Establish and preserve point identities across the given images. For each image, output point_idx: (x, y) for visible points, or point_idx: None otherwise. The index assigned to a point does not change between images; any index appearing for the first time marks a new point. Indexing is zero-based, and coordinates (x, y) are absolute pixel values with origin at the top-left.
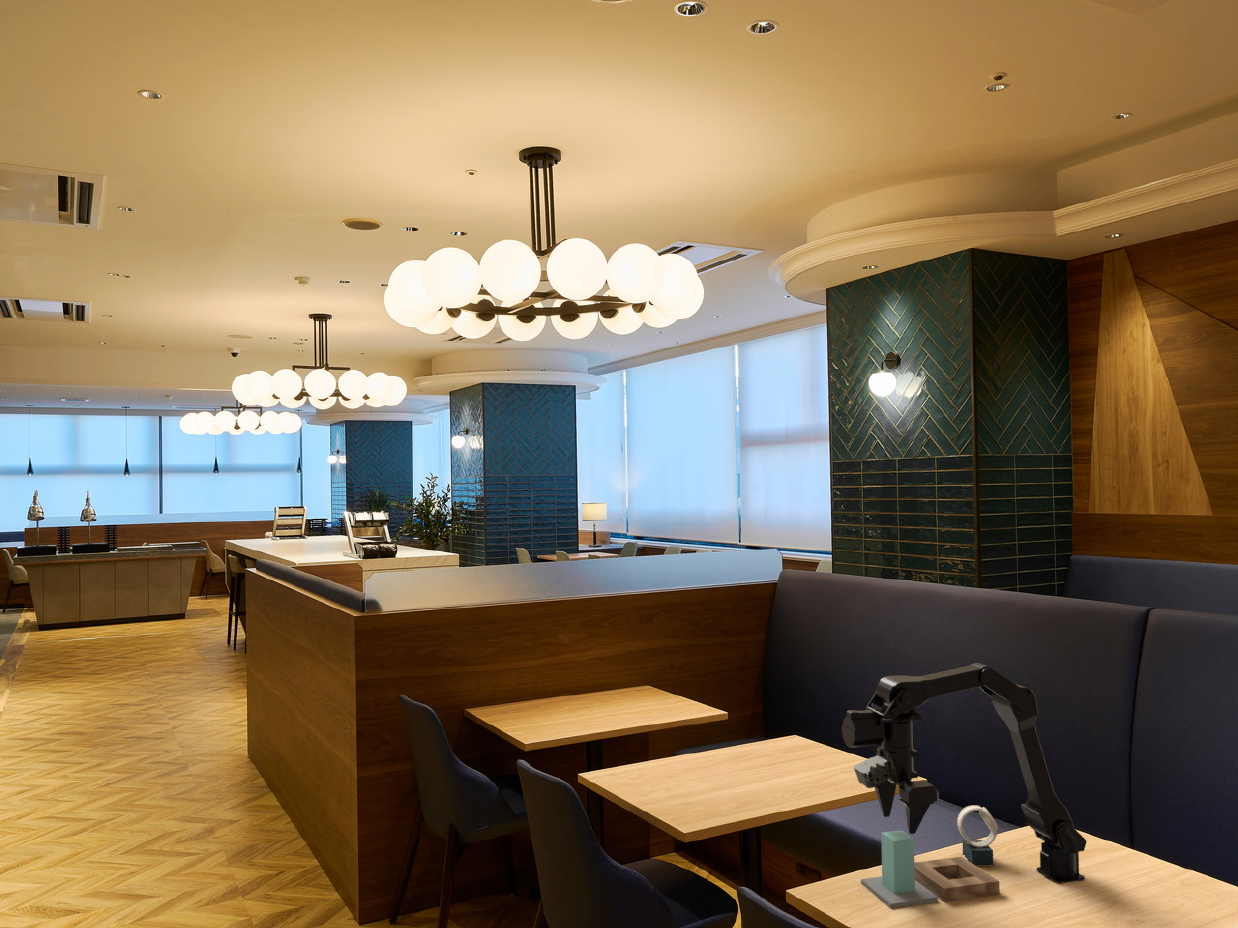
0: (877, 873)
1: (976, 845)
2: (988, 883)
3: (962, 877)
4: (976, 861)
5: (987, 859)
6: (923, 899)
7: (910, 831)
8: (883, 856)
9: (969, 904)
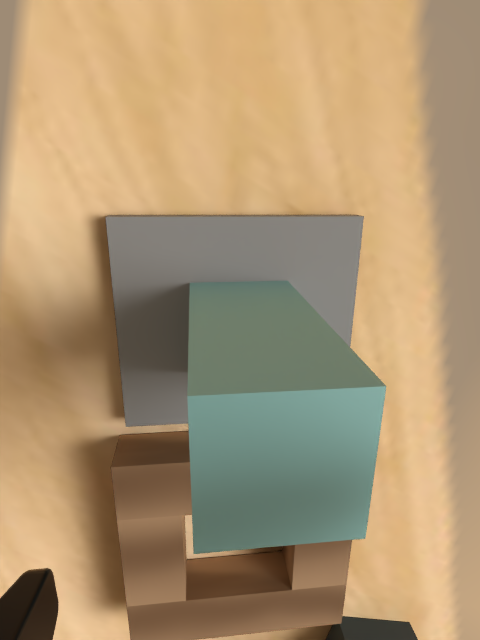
0: (406, 325)
1: None
2: (128, 612)
3: (256, 561)
4: (336, 637)
5: None
6: (120, 368)
7: (5, 594)
8: (305, 321)
9: (85, 498)
